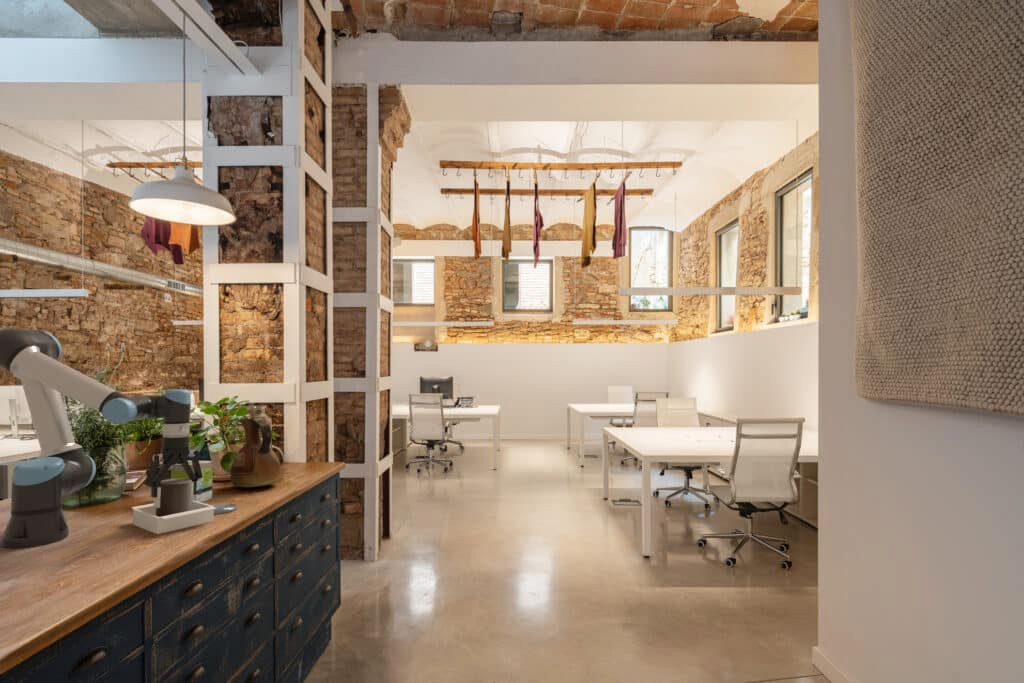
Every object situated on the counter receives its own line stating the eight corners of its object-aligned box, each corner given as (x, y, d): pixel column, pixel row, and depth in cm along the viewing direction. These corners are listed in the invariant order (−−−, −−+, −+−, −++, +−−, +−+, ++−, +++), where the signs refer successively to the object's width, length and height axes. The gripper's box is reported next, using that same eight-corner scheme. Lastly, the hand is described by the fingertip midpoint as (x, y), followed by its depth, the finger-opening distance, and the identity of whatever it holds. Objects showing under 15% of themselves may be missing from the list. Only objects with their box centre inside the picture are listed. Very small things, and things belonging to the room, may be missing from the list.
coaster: (210, 516, 192) (210, 513, 192) (192, 511, 198) (192, 508, 198) (243, 509, 202) (243, 506, 202) (225, 504, 208) (225, 501, 208)
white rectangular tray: (162, 535, 170) (162, 519, 170) (128, 523, 183) (129, 507, 183) (218, 522, 184) (218, 507, 184) (183, 511, 197) (183, 497, 197)
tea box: (213, 498, 217) (214, 460, 218) (195, 504, 207) (197, 464, 208) (177, 497, 219) (178, 459, 219) (158, 503, 209) (159, 463, 209)
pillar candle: (160, 528, 177) (162, 481, 177) (151, 522, 183) (154, 476, 184) (193, 523, 184) (196, 477, 184) (184, 517, 190) (186, 473, 191)
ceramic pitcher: (258, 480, 251) (260, 413, 252) (291, 484, 242) (293, 415, 243) (219, 488, 233) (221, 417, 234) (252, 494, 224) (254, 419, 225)
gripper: (144, 440, 173) (141, 513, 173) (215, 433, 192) (213, 499, 191) (133, 438, 178) (130, 509, 177) (204, 431, 196) (202, 495, 195)
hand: (173, 503), depth 184 cm, fingers closed on pillar candle, 10 cm apart
